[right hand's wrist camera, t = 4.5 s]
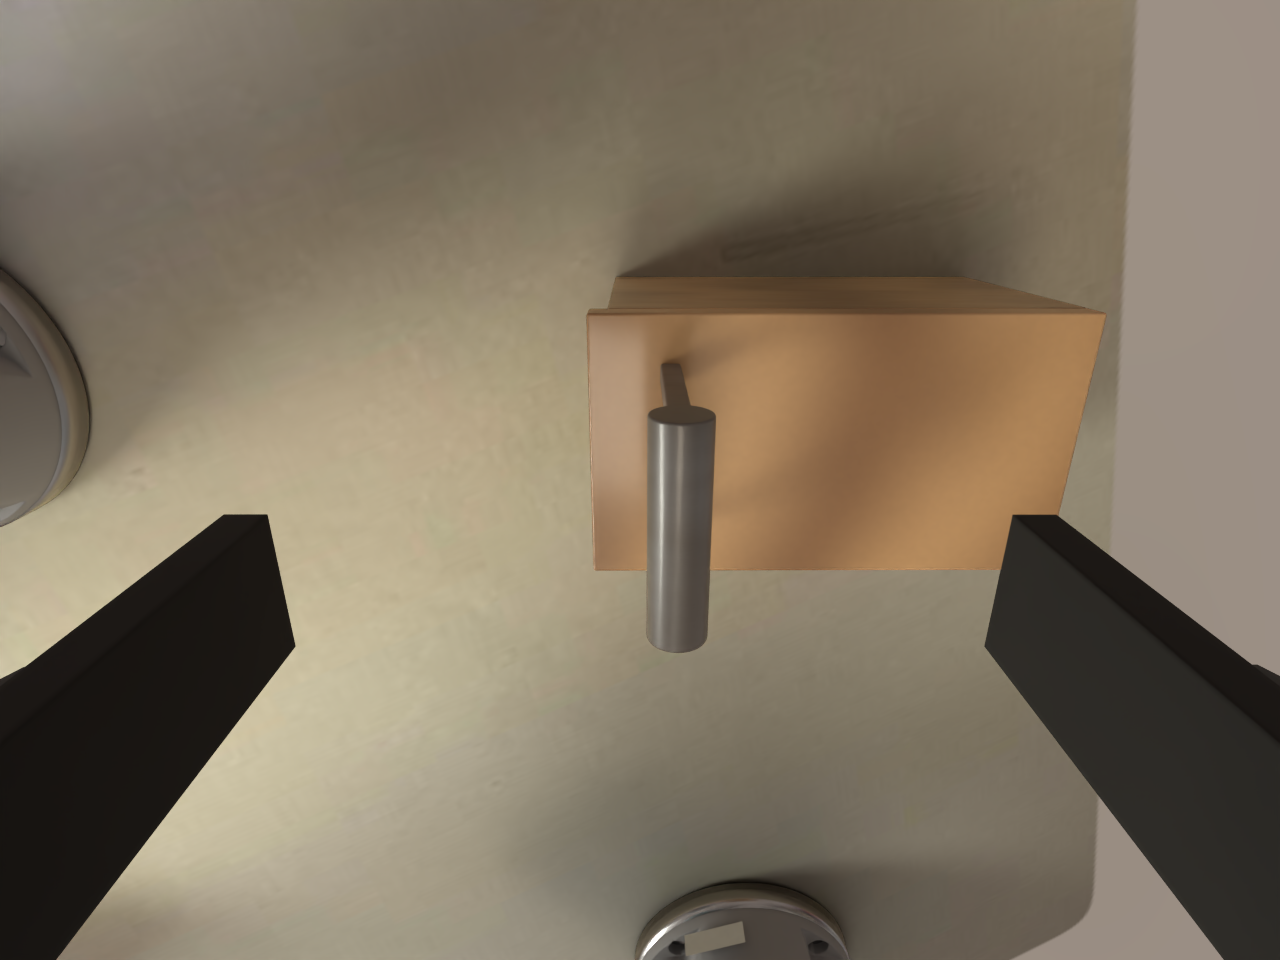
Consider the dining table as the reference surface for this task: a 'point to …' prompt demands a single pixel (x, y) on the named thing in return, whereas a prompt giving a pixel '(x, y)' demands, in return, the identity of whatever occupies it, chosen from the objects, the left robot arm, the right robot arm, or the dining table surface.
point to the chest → (820, 293)
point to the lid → (824, 440)
